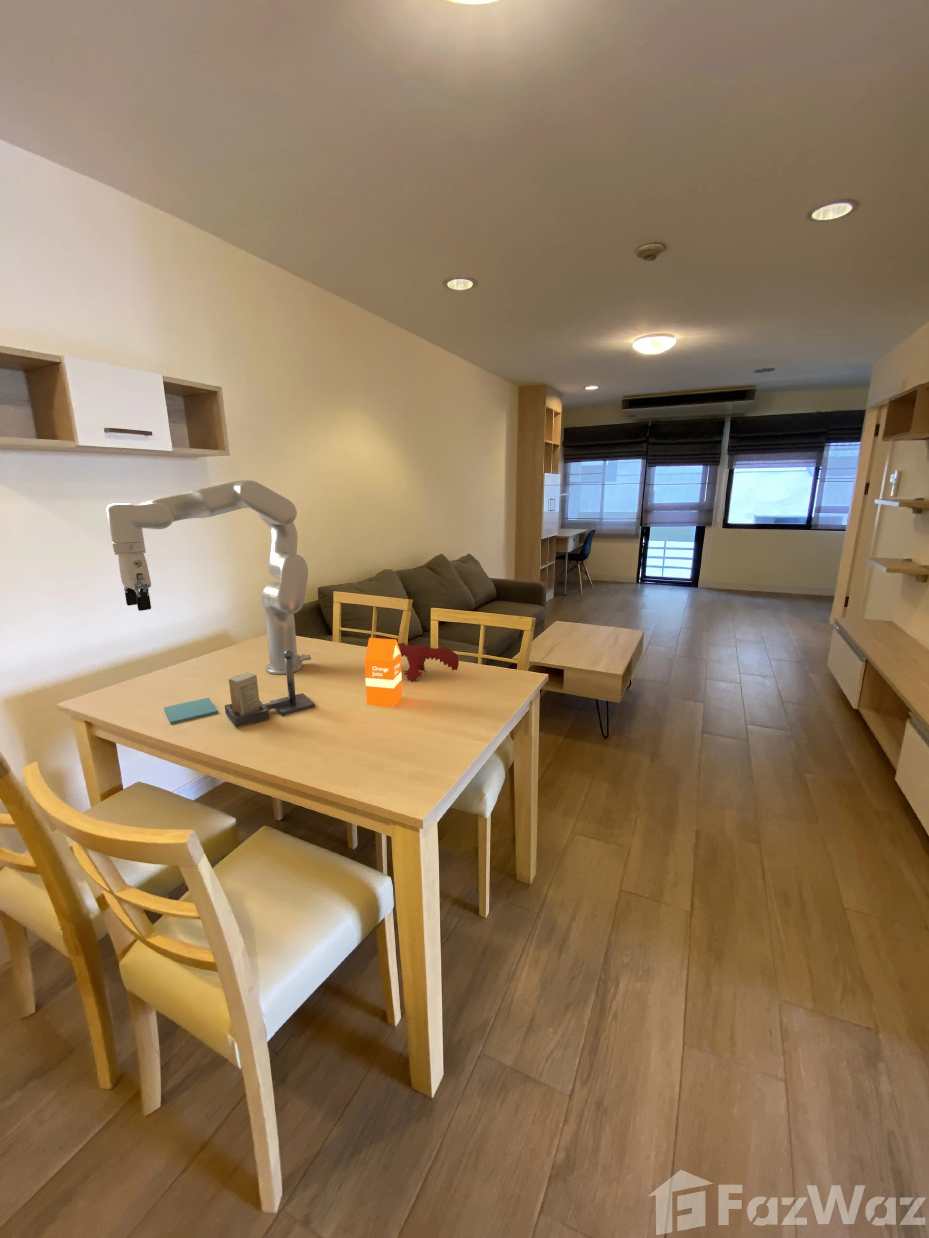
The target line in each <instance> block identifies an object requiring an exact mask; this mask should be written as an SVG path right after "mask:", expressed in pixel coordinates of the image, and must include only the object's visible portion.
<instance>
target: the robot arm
mask: <svg viewBox="0 0 929 1238" xmlns="http://www.w3.org/2000/svg"><path fill="white" fill-rule="evenodd" d="M242 509H251V510H253V511H255V512H256V513H258V516H259V517H260V519H261V520H262V521H263V522H264V523H265V524H266V525H267V527H268V529H269V530H270V534H271V541H270V542H271V543H270V551H269V559H268V571H269V573H270V574H271V576H273V577H275V578H277V579H279V581H273V582H270V583H268V584H266V585H265V586H264V587H263V589H262V591H261V603H262V608H263V612H264V616H265V625H266V635H267V636H266V637H267V645H268V646H267V647H268V648H267V649H268V656H269V663H268V664H267V665H266V666H265V672H267V673H269V674H271V675H287V674H286V662H285V658H284V656H283V654H284V652H285V651H286V650H291V651H292V652H293V654H294V655H293V658H292V659H293V671H294V673H295V672H298V671H300V670H301V669H303V667H304V666H303V664H304V663H303V661H311V659H312V657H311V654H306V655H305V653H304V654H298V650H297V649H298V648H297V635H296V622H295V621H296V620H295V615H294V614H296V613H298V612H299V611H300V610H301V609H302V607H303V606H304V604H305V599H306V594H307V592H306V591H307V586H308V576H309V567H308V563H307V561H306V559H305V558H304V557H303V556H302V555H300V554H297V553H298V551H297V550H298V531H297V527H296V525H295V523H294V522H295V520H296V519H297V517H298V512H297V508H296V506H295V505H294V503H293V502H292V501H291V500H289V499H288V498H286V497H285V496H283V495H281V494H279V493H278V492H275V491H274V490H272V489H270V488H268V487H266V485H265V486H264V485H263V484H261V483H260V482H258V481H254V480H248V479H247V480H236V481H231V482H226V483H221V484H218V485H212V486H209V487H204V488H199V489H195V490H190V491H188V492H183V493H181V494H180V493H179V494H175V495H170V496H165V497H162V498H157V499H152V500H148V501H145V502H141V503H139V504H134V503H128V502H127V503H125V502H124V503H111V504H108V505H107V507H106V513H107V519H108V525H109V531H110V532H109V533H110V536H111V537H110V538H111V543H112V548H113V549H112V550H113V554H114V555H116V556H117V557H118V566H119V574H120V575H119V576H120V579H121V583H122V585H123V586H124V588H123V591H124V595H125V602H126V606H128V607H129V606H135V605H136V606H137V610H138V611H139V612H142V611H149V610H152V605H151V604H152V603H151V598H150V597H151V596H150V592H149V589H150V588H151V587H152V582H151V576H150V573H149V572H150V571H149V567H148V562H147V559H146V557H145V554H146V553H147V552H146V545H145V544H146V543H145V538H144V532H143V529H148V530H149V529H151V530H164V529H166V528H169V527H171V525H173V522H178V521H183V520H187V519H188V520H189V519H206V518H212V517H216V516H219V515H222V514H226V513H230V512H233V511H237V510H242Z"/></svg>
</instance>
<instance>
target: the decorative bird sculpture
mask: <svg viewBox="0 0 929 1238" xmlns="http://www.w3.org/2000/svg"><path fill="white" fill-rule="evenodd" d="M397 644H398V647H399V650H400V653H401V658H402V657H405V658H406V660H407V663H408V665H409V668H408V669H407V670H403V672H404V675H406V676H405V677H406V678H407V680H408V681H410V682H413V681H415V682H416V681H417V679H419V677H422V675H423V673H424V674H425V673H426V672H427V670H426V667H425V662H426V660H431V661H432V660H435V662H437V661H438V660H439V663H443V665H444V666H446V665H447V668H451V671H457V670H458V669H459V663H460V662H459V655H458V654H457V653H456V652H455V651H453V650H452V649H450V648H449V647H445V646H441V647H437V648H436V647H435V648H433V647H429V646H426V645H421V644H417V645H408V644H406V643H405V642H401V643H400V642H399V643H397ZM421 674H422V675H421Z"/></svg>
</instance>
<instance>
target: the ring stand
mask: <svg viewBox="0 0 929 1238" xmlns="http://www.w3.org/2000/svg"><path fill="white" fill-rule="evenodd" d="M293 655H294V654H293V652H292V651H291V650H286V651H285V652H284V654H283V656H284V658H285V662H286V674H285V675H286V682H287V683H286V684H287V693H288V694H287V696H286V697H280V698H276V699H273V700H270V701H269V702H267V703H266V702H265V703H263V702H262V701H261V700H260V699H259V701H260V710H261V711H258V712H254V713H250V714H246V715H242V716H237V715H236V714H235V712H234V711H233V710H232V703H228V704H225V705H224V712H225V715H226V716H227V717H228V719H229V720H230V722H231V723H232V724H233V726H234V727H235V728H238V727H242V726H246V725H250V724H254V723H258V722H261V721H265V720H268V719H270V710H275V711H276V712H277V713H278V714H279V715H280V716H281V717H285V716H287V715H291V714H295V713H299V712H303V711H306V710H311V709H314V708H316V703H315V702H314V701H313V700H312V699H310V698H309V697H308V696H307V695H305V694H304V693H298V694H296V685H295V675H294V674H295V672H294V671H293V659H292V658H293Z"/></svg>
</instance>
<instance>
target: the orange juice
mask: <svg viewBox="0 0 929 1238" xmlns="http://www.w3.org/2000/svg"><path fill="white" fill-rule="evenodd" d="M398 644H399V643H398V640H397V639H393V638H392V639H390V638H377V637H369V638H368V643H367V647H366V653H365V656H364V657H365V658H364V668H365V670H364V671H365V692H366V705H370V706H380V707H381V706H382V707H392V708H394V707H395V706H396V705H397V704H398V702H400V700H402V698H403V697H402V696H403V691H402V689H403V685H402V684H403V683H402V677H403V676H402V656H401V653H400V650H399V647H398Z"/></svg>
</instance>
